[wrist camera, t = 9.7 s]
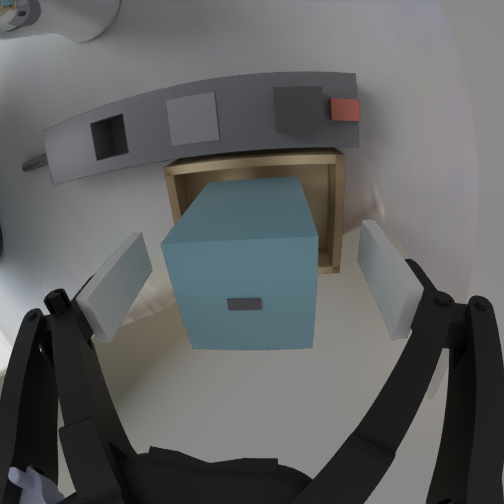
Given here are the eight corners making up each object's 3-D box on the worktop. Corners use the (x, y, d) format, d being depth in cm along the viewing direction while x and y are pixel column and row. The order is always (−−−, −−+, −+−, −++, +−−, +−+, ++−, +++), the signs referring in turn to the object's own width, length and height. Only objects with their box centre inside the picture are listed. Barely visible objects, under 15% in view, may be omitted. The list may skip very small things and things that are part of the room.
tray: (197, 256, 25) (187, 278, 22) (179, 158, 21) (163, 167, 18) (331, 250, 24) (339, 272, 21) (333, 147, 19) (344, 154, 16)
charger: (225, 243, 23) (192, 349, 13) (215, 173, 21) (160, 245, 10) (297, 239, 23) (312, 349, 13) (295, 168, 20) (318, 237, 10)
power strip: (31, 187, 22) (-5, 208, 17) (22, 145, 20) (-16, 160, 15) (345, 141, 19) (370, 153, 14) (342, 78, 17) (367, 69, 12)
